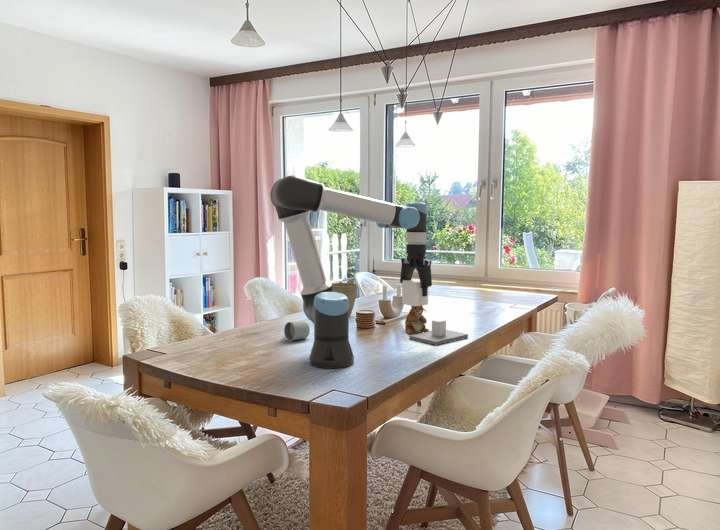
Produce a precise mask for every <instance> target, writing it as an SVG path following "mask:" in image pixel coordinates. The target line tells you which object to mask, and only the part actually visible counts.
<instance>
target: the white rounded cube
mask: <svg viewBox="0 0 720 530" xmlns="http://www.w3.org/2000/svg"><path fill="white" fill-rule="evenodd" d="M403 280H404V279H403ZM401 284H402V287H401V288H402V293H401V294H402V295H401V304H402V305H406V306H410V307H411V306H421V305H420V287H421V283H420V279H411V280H404V281H402V283H401ZM427 305H429V287H428V288H427V296H426V305H425V306H427Z"/></svg>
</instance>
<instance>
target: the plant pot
mask: <svg viewBox="0 0 720 530" xmlns="http://www.w3.org/2000/svg"><path fill="white" fill-rule="evenodd" d="M331 284H332V287H333V291H334V292H338V293H342V294H344V295H346V296H347V298H348V303H349V317H351V316H352V313H353V309H354V306H355V303H356V300H357V299H356V298H357V293H358V283H355V282H337V283H336V282H334V283H331ZM350 315H351V316H350Z"/></svg>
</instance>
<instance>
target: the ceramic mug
mask: <svg viewBox="0 0 720 530" xmlns="http://www.w3.org/2000/svg"><path fill="white" fill-rule="evenodd" d="M310 332H311V331H310V325H309V323H307V322H306V321H301V320H297V321H288V322H286V323H285V325H284V329H283V333H284V337H285V339H286V340H287V341H288V340H290V341H289V342H295V341H300V340H305V339H306V338H308V337H309V335H310ZM299 339H300V340H299ZM294 340H295V341H294Z"/></svg>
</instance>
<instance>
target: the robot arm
mask: <svg viewBox="0 0 720 530" xmlns="http://www.w3.org/2000/svg"><path fill="white" fill-rule="evenodd" d="M274 182H275V183H274V184H273V185H272V187H271V190H270V201H271V203H272V205H273V206H274V209H275V211H276V213H277V217H278V221H280V222H283V223H284V226H285V230H286V233H287V237H288V240H289V243H290V247H291V250H292V254H293V256H294V260H295V262H296V267H297V269H298V273H299V276H300V280H301V284H302V289H301V291H300V296H301V300H302V303H303V304H302V306H303V307H302V309H303V313H304V315H305V316H306V318H307V319H308V320H309V321H310V322H312V323H313V324H314V325H313V327H314V328H313V333H314V334H313V335H314V339H313V344H312V347H311V350H310V354H309V357H308V358H309V359H308V361H309V363H308V364H309V365H310V364H311V365H310V366H312V367H314V366H315V367H314V368H319V369H340V368H342V369H343V368H346V367H350V366H352V365H353V364H354V363H355V360H354V359H355V357H354V356H355V355H354V353H353V349H352V346H351V343H350V339H349V331H350V330H349V325H350V324H349V320H350V319H349V318H350V316H349V303H348V298H347V296H346V295H344V294H342V293H338V292H334V291H333V287H332V283H331V282H329V281H327V277H326V275H325V271H324V269H323V264H322V260H321V257H320V254H319V249H318V247H317V244H316V240H315V236H314V233H313V229H312V226H311V222H310V219H309V217H310V216H309V215H310V213H311V212H315V213H317V212H319V211H324V212H327V213H328V212H329V213H334V214H337V215H343V216H345V217H346V216H348V217H351V218H355V219H361V220H365V221H369V222H374V223H375V224H376V226H377V227H378V228H381V229H405V230H406V245H405V249H406V250H405V252H406V254H407V256H406V257H403V258H400V261H401V268H400V278H399V279H400V280H399V282H400V284H402V281H404V280H412V278H413V274H414V272H415V270H416V271H417V274H418V278H419V279H418V280H420V283H421V287H420V305H422V306H427V305H426V296H427V288H428V289H429V288H430V287H432V286H433V283H432V282H433V281H432V269H431V268H432V267H431V265H432V260H431V259H426V257H425V256H426V254H427V245H426V243H427V217H428V209H427V204H426V203H425V202H408V203H407V204H406V206H405V205H400V204H396V203H392V202H387V201H384V200H378V199H375V198H371V197H368V196H362V195H358V194H354V193H350V192H346V191H342V190H338V189H333V188H329V187H325V185H324V183H322V182H317V181H316V180H315V181H314V180H311V179H309V178H306V177H305V178H304V177H302V176H299V175H296V174H295V175H293V174H292V175H286V176H284V177H282V178H279V179H278V180H276V181H274Z"/></svg>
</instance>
